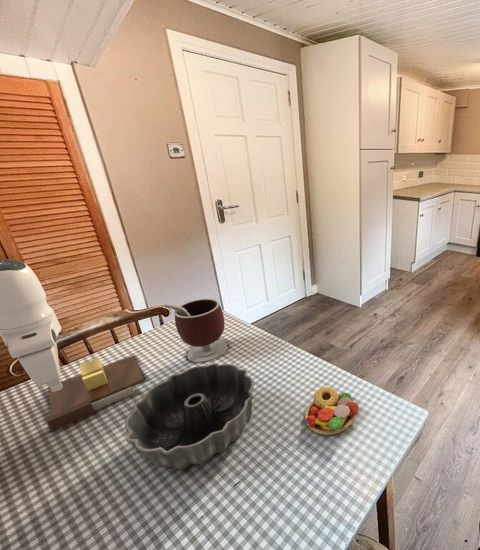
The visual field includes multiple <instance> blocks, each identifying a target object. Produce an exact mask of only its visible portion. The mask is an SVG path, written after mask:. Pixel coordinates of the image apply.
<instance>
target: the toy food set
mask: <svg viewBox="0 0 480 550" xmlns="http://www.w3.org/2000/svg"><path fill="white" fill-rule="evenodd" d="M359 410H360V408H359V405H358V403H357V402H355V401H352V395H351V394H350V393H349V392H343V393H338V392H337V390H336V389H335V388H334V387H331V386H323V387H320V388H319V389H317V390H316V391H315V393H314V394H313V400H312V401H311V402H310V403H309V405H308V406H307V407H306V410H305V413H304V421H305V423H306V425H307V426H308V428H309V429H310V430H312V431H313V432H315V433H317V434H319V435H329V436H331V435H336V434H339V433H341V432H343V431H345V430H347V428H349V427H350V426H351V425H352V423H353V422H354V420H355V418H356V415H357V414H358V413H359Z"/></svg>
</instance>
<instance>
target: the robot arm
mask: <svg viewBox="0 0 480 550" xmlns="http://www.w3.org/2000/svg"><path fill="white" fill-rule="evenodd" d="M42 285H43V284H42V283H41V281H40V279H39V278H38V276H37V275H36V273H35V272H34V270H32V268H31V267H30V266H29V265H28V264H27V263H26V262H23V261H20V260H16V259H9V258H8V259H7V258H1V259H0V337H1V339H2V341H3V343H4V345H5V346H6V347H7V350H8V353H9V354H10V356H11V358H12V359H16V358H17V360H18V361H19V363H20V366H21V367H22V368H23V369H24V371H25V372H26V374H27V375H28V376H29V378H30V379H31V381H32V382H33V383H34V384H35V385H36V386H38V387H42V386H45V385H46V386H48V388H49V387H50V389H51V391H52V392H56V391H58V390H61V389H62V388H63V387H62V383H61V382H62V381H61V364H60V360H59V351H58V343H57V339H58V336H59V333H61V331H62V326H61V324H60V322H59V319H58V318H57V315H56V313H55V310H54V309H53V307H51V306H50V305H49V304H48V302H47V294H46V292H45V290H44V287H43V286H42Z"/></svg>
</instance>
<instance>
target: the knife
mask: <svg viewBox="0 0 480 550" xmlns="http://www.w3.org/2000/svg"><path fill="white" fill-rule="evenodd" d="M133 386H134V385H133ZM133 386H131V387H128V388H126V389H123V390H121V391H119V392H116V393H114V394H112V395H109V396H107V397H105V398H102V399H100V400H98V401H95V402H93V403H90V400H88V401H85V402H83V403H80V404H78V405H76V406H73V407H71V408H68V409H66V410H64V411H61V412H59V413H56V414H54V415H52V416H50V415H49V416H48V417H46V423H47V426H48V428H49V429H50V431H51V432H54V431H57V430H59V429H61V428H64V427H66V426H68V425H71V424H73V423H75V422H77V421H80V420H82V419H85V418H86V417H89V416H91V415H94V414H95V412H96V411H99V410H100V409H103V408H105V407H107V406H109V405H111V404H114V403H116V402H118V401H121V400H123V399H126V398H127V397H130V396H132V395H135V394H136V391H135V389H134V387H133Z"/></svg>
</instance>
